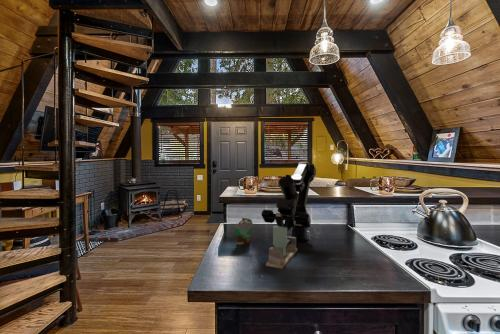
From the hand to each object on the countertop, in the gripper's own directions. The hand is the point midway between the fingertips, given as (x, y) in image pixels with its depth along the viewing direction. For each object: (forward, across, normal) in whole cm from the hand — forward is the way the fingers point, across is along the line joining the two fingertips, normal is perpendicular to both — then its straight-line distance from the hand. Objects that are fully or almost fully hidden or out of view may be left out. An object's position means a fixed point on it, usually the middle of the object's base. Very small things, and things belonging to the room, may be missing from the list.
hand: (280, 237), depth 101 cm
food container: (-3, -20, +15) cm, 25 cm away
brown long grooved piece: (+4, 0, +8) cm, 9 cm away
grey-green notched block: (+5, 0, +4) cm, 6 cm away
